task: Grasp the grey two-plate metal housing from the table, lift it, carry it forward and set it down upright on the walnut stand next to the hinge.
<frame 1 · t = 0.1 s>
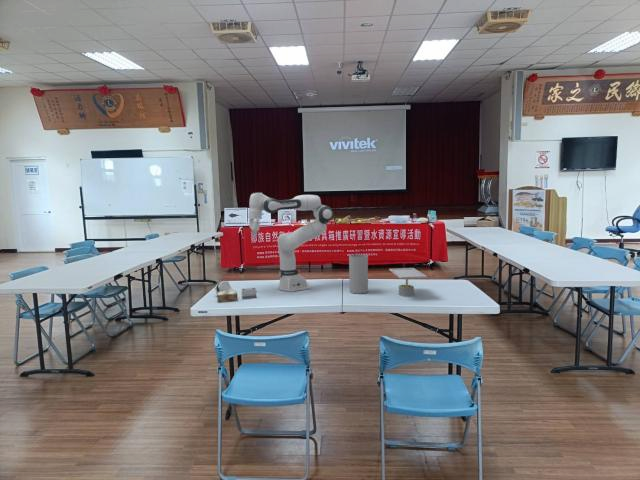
hand: (253, 236, 295), 39 cm above the table, tool pointing down, fingers open, 8 cm apart
housing: (249, 298, 284), on the table
solar panel model: (406, 294, 286), on the table
hinge: (224, 294, 294), on the table
cylinder vase: (358, 292, 295), on the table
stand: (227, 300, 279), on the table
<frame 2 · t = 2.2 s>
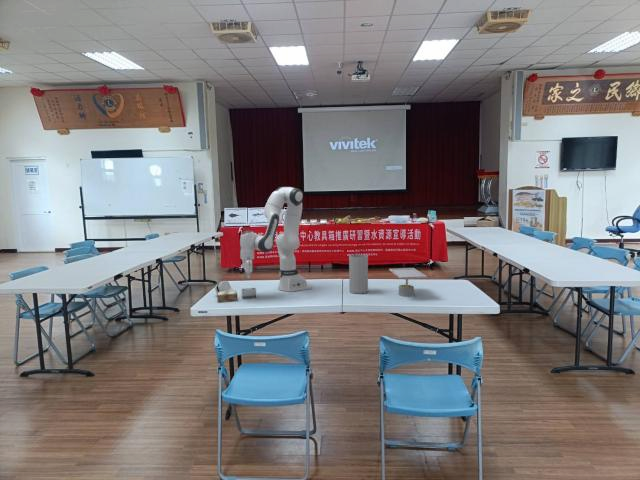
hand: (247, 277, 282), 14 cm above the table, tool pointing down, fingers open, 8 cm apart
nothing on the table moved.
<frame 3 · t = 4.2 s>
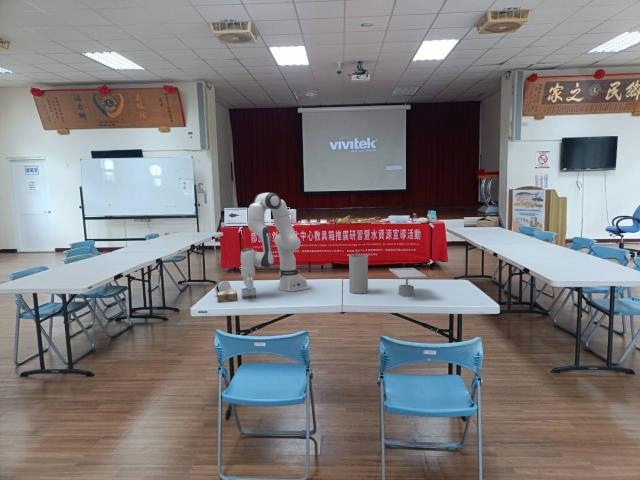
hand: (248, 293, 284), 3 cm above the table, tool pointing down, fingers closed on housing, 5 cm apart
housing: (249, 297, 284), on the table, touching gripper
everything else where it was.
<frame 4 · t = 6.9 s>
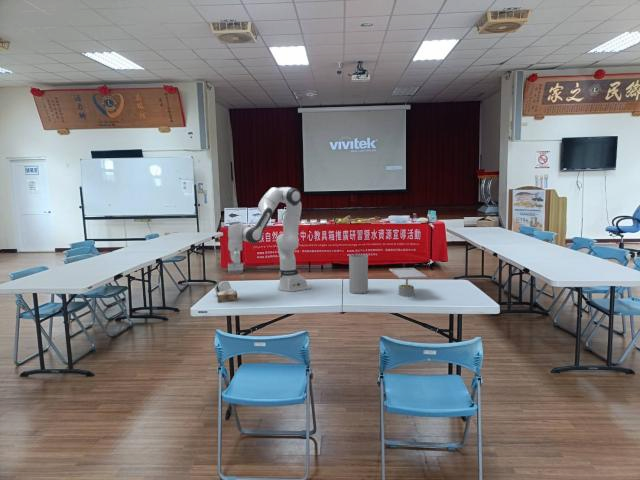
hand: (235, 268, 278), 20 cm above the table, tool pointing down, fingers closed on housing, 5 cm apart
housing: (235, 272, 279), point 18 cm above the table, touching gripper
everything else where it was.
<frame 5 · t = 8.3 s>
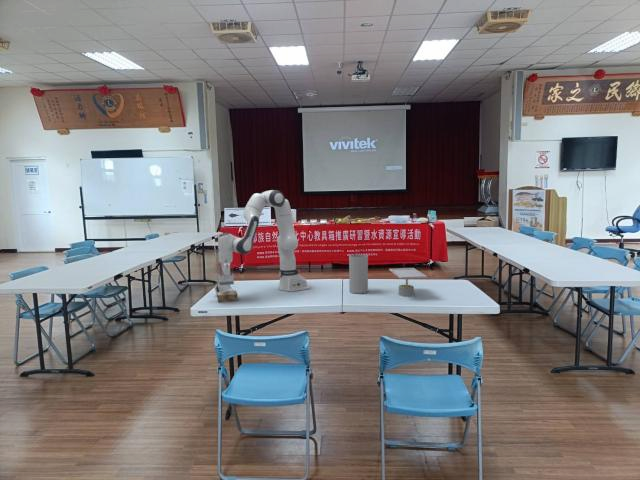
hand: (226, 279, 277), 13 cm above the table, tool pointing down, fingers closed on housing, 5 cm apart
housing: (226, 284, 278), point 11 cm above the table, touching gripper
everything else where it was.
when the fingers open (9 cm above the table, at t = 9.7 s): housing drops 1 cm, resting on stand.
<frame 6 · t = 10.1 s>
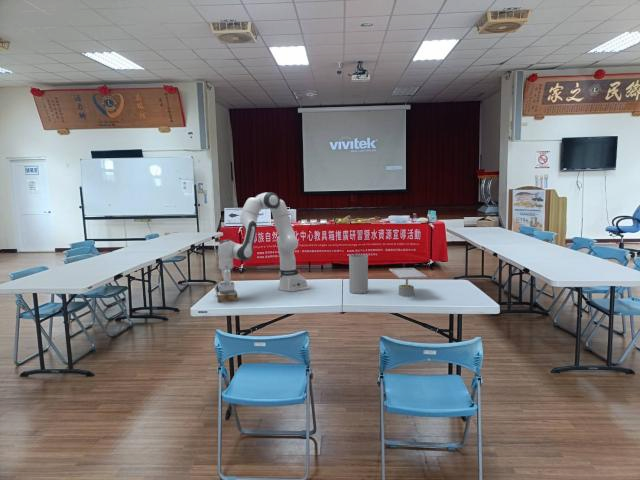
hand: (226, 286, 278), 9 cm above the table, tool pointing down, fingers open, 8 cm apart
housing: (227, 292, 279), point 5 cm above the table, touching stand
everything else where it was.
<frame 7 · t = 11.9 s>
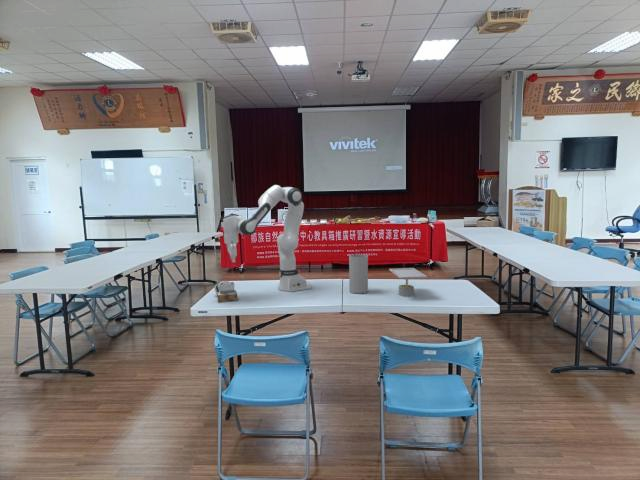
hand: (233, 261, 281), 25 cm above the table, tool pointing down, fingers open, 8 cm apart
nothing on the table moved.
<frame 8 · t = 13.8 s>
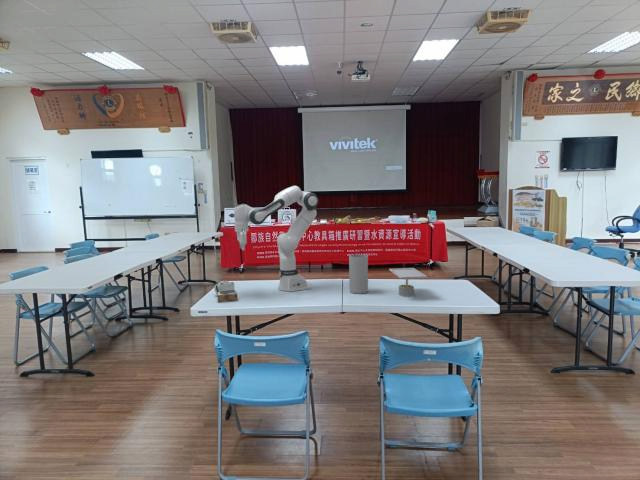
hand: (242, 249, 288), 31 cm above the table, tool pointing down, fingers open, 8 cm apart
at the end: housing inside the target area on the stand (0.0 cm from its centre), point 5.0 cm above the stand's base; housing tilted 0°; the gripper is holding nothing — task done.
